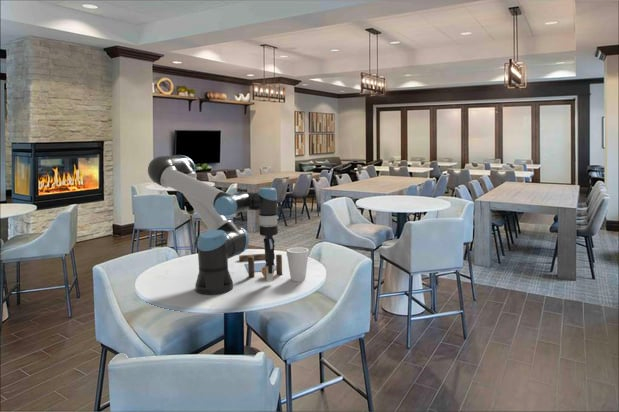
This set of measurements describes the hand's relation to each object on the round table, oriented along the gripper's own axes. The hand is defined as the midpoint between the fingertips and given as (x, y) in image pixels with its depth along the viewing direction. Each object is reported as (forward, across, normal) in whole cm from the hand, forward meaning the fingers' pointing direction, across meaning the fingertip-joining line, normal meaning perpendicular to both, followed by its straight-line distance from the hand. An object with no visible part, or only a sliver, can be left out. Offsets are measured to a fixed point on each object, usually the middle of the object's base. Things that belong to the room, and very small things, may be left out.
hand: (270, 280), depth 189 cm
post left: (+2, +13, +6) cm, 15 cm away
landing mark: (+2, +27, 0) cm, 27 cm away
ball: (-1, +10, -1) cm, 10 cm away
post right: (+2, +13, -6) cm, 15 cm away
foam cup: (+2, +4, -13) cm, 14 cm away
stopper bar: (+2, +42, 0) cm, 42 cm away
